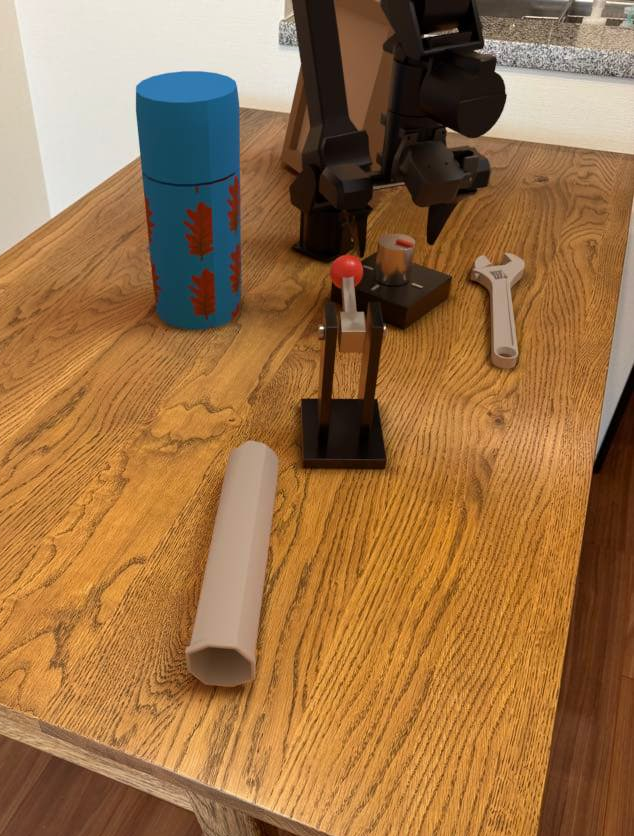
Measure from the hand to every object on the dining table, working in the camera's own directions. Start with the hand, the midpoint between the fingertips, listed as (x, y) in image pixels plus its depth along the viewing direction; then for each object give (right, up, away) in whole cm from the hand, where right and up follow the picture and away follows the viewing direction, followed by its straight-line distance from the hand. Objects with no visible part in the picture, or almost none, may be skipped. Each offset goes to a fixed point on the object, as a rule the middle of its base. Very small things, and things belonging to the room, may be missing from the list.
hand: (395, 250), depth 94 cm
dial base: (0, -5, +5) cm, 6 cm away
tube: (-19, -37, -26) cm, 49 cm away
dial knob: (0, -2, +2) cm, 3 cm away
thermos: (-24, -6, +4) cm, 25 cm away
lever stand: (-9, -24, -14) cm, 30 cm away
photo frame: (0, +23, +31) cm, 39 cm away
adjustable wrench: (+13, -7, +2) cm, 14 cm away
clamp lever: (-9, -13, -19) cm, 25 cm away
